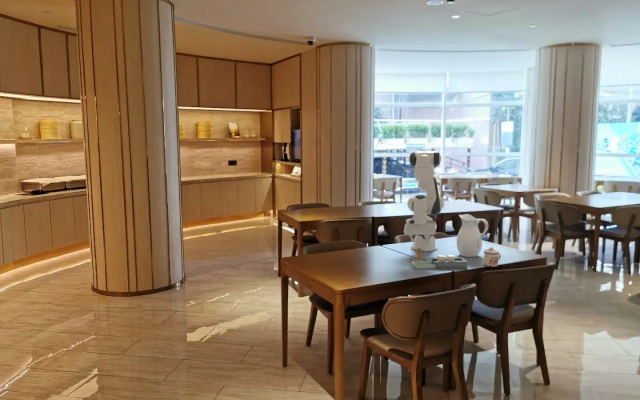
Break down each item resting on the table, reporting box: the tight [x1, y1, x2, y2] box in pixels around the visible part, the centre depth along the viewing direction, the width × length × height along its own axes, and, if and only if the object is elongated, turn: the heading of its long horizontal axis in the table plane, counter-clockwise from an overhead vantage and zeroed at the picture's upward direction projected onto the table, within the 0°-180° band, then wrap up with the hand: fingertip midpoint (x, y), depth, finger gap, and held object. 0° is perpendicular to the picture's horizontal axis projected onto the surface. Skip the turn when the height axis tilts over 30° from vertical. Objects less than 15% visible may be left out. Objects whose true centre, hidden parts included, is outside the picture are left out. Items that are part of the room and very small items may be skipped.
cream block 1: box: [437, 254, 447, 261], centre depth 319 cm, size 4×4×4 cm
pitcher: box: [456, 213, 489, 258], centre depth 344 cm, size 24×17×28 cm
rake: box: [415, 248, 423, 261], centre depth 329 cm, size 5×3×10 cm, turn 1°
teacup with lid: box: [483, 246, 501, 268], centre depth 323 cm, size 12×9×12 cm
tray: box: [411, 260, 436, 270], centre depth 320 cm, size 10×13×2 cm
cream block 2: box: [446, 254, 456, 261], centre depth 320 cm, size 4×4×4 cm
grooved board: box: [431, 256, 468, 270], centre depth 320 cm, size 10×20×4 cm, turn 91°
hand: (419, 241), depth 327 cm, fingers open, 8 cm apart
